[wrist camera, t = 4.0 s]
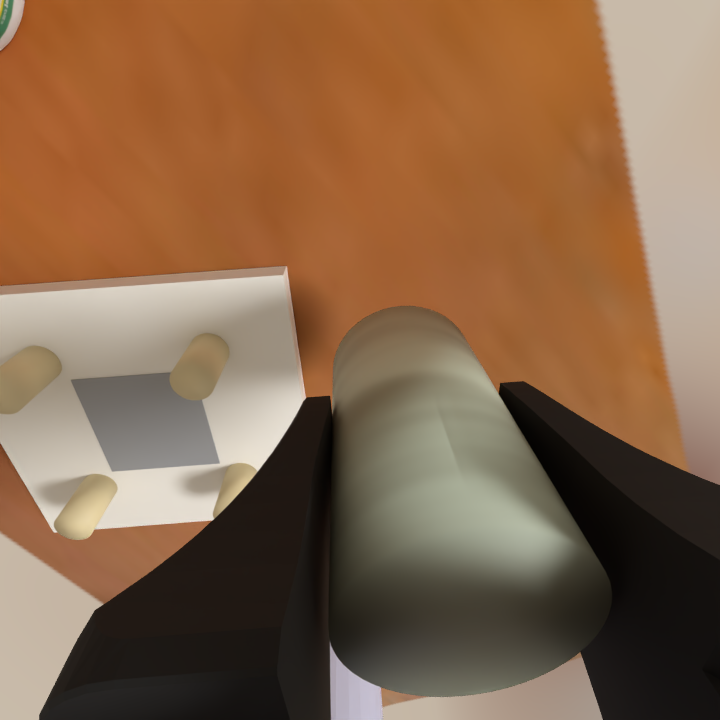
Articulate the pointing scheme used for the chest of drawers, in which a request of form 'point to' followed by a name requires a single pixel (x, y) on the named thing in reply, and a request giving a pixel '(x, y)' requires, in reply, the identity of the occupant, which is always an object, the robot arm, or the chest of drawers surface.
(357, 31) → the chest of drawers surface
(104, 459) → the base plate
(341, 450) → the peg
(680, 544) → the robot arm
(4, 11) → the supplement bottle
